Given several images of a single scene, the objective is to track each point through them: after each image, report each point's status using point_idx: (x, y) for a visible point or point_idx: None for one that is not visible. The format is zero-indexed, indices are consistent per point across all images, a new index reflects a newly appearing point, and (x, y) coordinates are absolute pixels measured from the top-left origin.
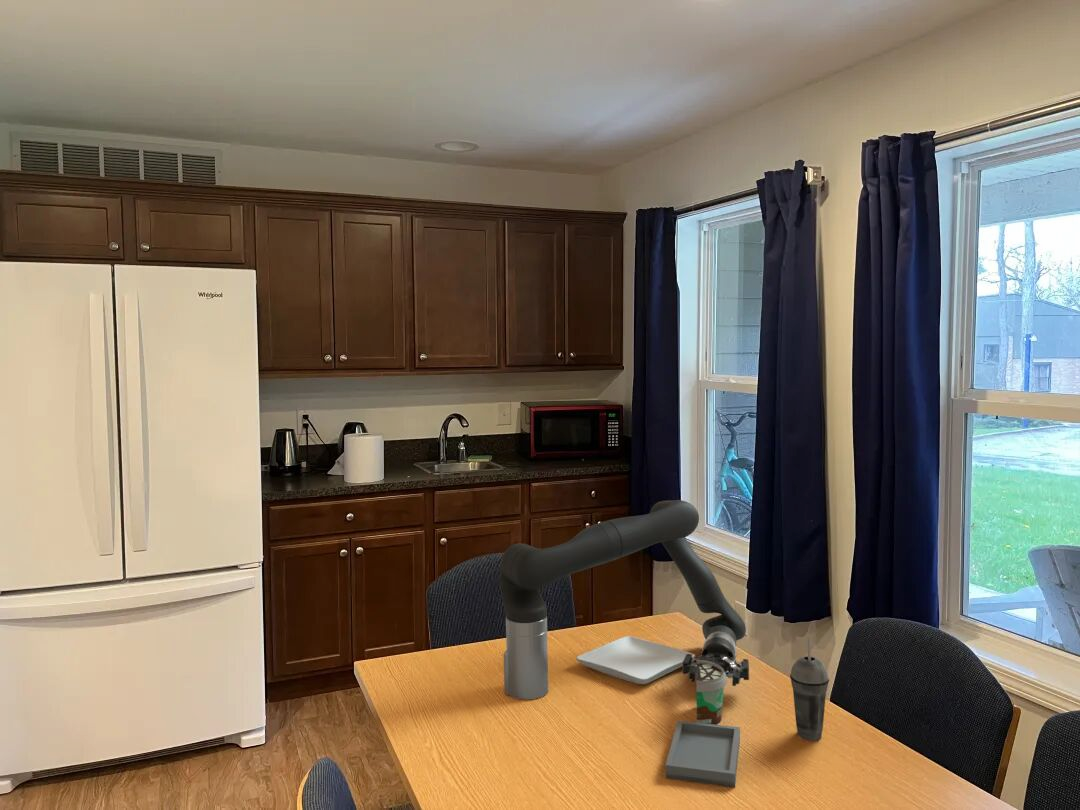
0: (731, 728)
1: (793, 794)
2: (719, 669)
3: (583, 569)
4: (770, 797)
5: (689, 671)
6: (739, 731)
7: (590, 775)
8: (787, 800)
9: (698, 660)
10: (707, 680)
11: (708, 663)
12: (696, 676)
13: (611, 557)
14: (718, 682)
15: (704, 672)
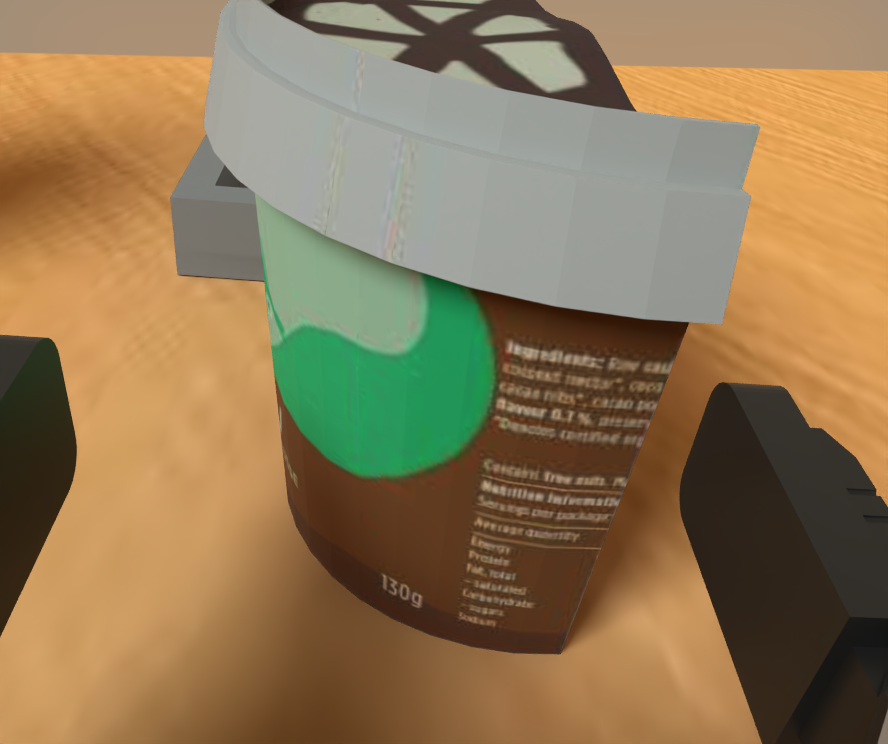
0: (234, 188)
1: (48, 67)
2: (297, 79)
3: None
4: (144, 63)
5: (859, 475)
6: (185, 171)
7: (771, 116)
8: (86, 56)
9: (719, 127)
10: None
11: (506, 123)
12: (760, 735)
13: None
14: None
15: (507, 46)
